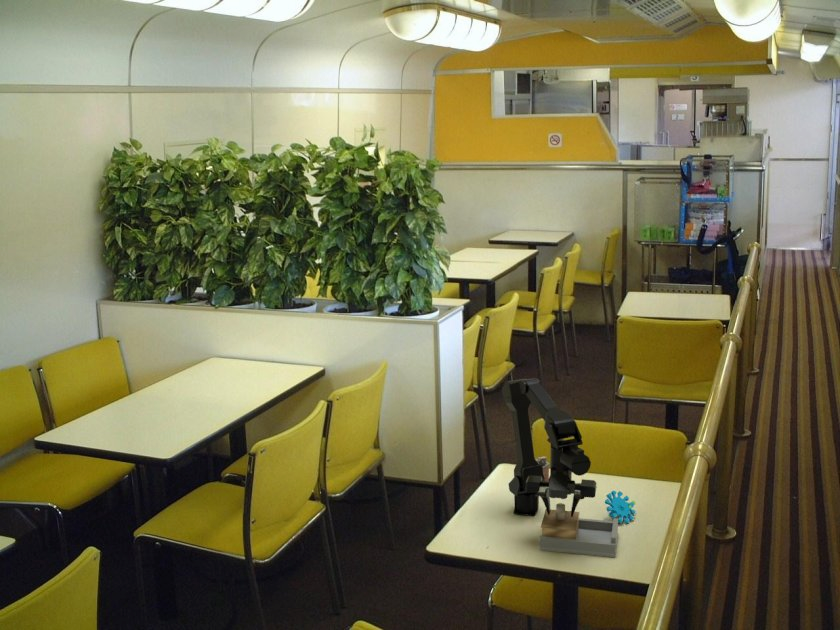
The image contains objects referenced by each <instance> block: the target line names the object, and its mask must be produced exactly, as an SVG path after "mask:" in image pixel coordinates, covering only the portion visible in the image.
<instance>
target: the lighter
mask: <svg viewBox="0 0 840 630" xmlns="http://www.w3.org/2000/svg"><path fill="white" fill-rule="evenodd" d="M535 460H536V461H537V462H538V464H539V465H542V467H543V475H544V479H545V480H544V481H549V477H550V462H548V461H547V456H546V455H545V456H541V457H540V456H538V457H537V458H535Z"/></svg>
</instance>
